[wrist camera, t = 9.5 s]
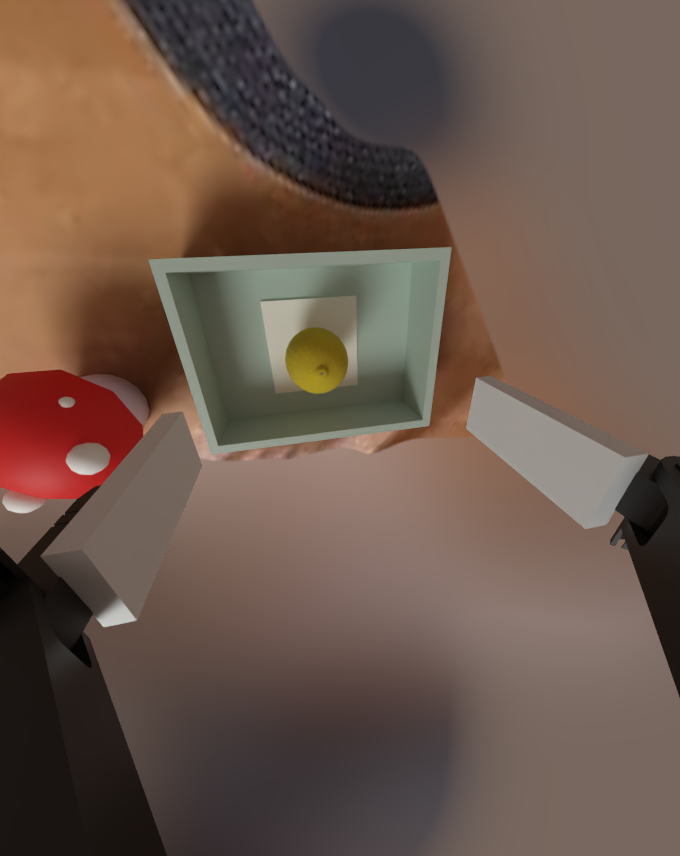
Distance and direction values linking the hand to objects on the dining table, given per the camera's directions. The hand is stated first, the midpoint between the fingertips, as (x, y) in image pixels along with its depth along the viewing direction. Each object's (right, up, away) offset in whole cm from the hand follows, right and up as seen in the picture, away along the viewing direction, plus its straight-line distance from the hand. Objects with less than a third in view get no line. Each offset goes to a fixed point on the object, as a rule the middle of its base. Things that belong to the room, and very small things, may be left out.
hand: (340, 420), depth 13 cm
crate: (-3, +8, +17) cm, 19 cm away
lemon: (-3, +8, +16) cm, 18 cm away
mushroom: (-23, +2, +16) cm, 28 cm away
